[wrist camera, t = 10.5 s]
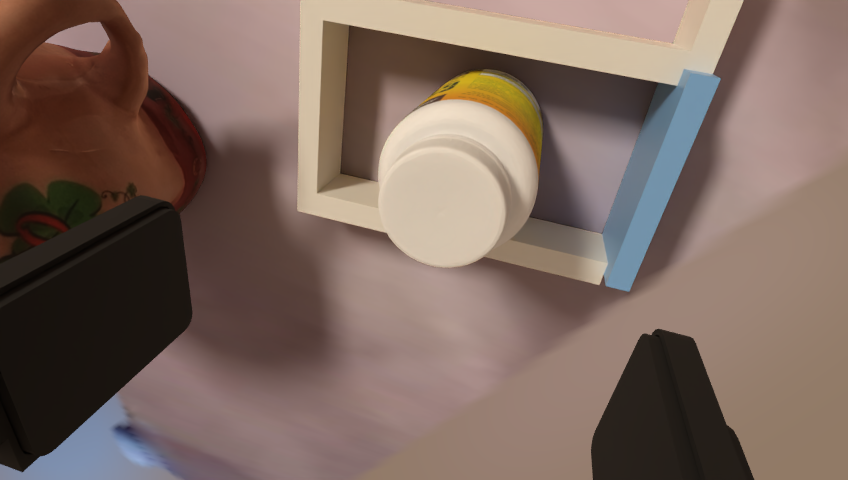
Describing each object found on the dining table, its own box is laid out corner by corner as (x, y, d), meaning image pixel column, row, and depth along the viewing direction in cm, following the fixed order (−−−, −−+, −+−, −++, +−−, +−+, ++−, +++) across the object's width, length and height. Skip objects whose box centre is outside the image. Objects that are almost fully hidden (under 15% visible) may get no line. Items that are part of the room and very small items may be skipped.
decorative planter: (115, -131, 22) (-424, -281, 10) (319, 64, 24) (77, 141, 12) (12, 163, 31) (-324, 270, 19) (163, 286, 33) (-59, 453, 21)
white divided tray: (817, -253, 15) (894, -324, 12) (614, 259, 25) (624, 302, 21) (342, -295, 17) (290, -365, 14) (322, 189, 27) (287, 219, 23)
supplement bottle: (470, 40, 22) (411, 76, 13) (569, 114, 22) (579, 197, 13) (407, 139, 24) (323, 224, 15) (495, 203, 25) (463, 321, 16)
